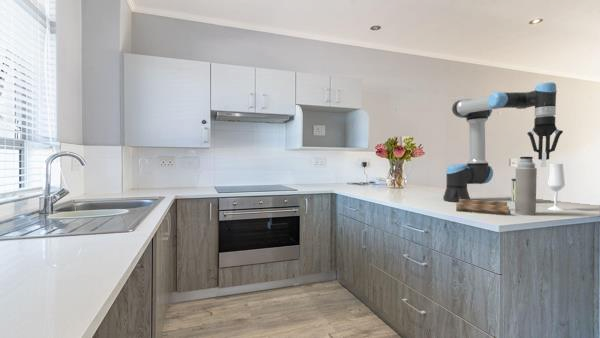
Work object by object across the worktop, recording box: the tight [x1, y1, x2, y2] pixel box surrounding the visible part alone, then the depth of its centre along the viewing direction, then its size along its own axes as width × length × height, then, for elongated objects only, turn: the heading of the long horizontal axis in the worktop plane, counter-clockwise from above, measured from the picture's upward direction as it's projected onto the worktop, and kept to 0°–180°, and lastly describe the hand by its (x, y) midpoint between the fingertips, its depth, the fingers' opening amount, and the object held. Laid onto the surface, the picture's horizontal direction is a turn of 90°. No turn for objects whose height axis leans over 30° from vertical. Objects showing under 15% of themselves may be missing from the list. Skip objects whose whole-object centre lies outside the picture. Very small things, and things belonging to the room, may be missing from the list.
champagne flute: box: [547, 163, 566, 212], centre depth 148 cm, size 7×7×24 cm
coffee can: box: [511, 178, 516, 203], centre depth 174 cm, size 10×10×14 cm
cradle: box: [455, 199, 510, 216], centre depth 150 cm, size 22×18×4 cm
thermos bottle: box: [514, 156, 538, 216], centre depth 139 cm, size 8×8×28 cm
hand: (543, 166), depth 135 cm, fingers closed
